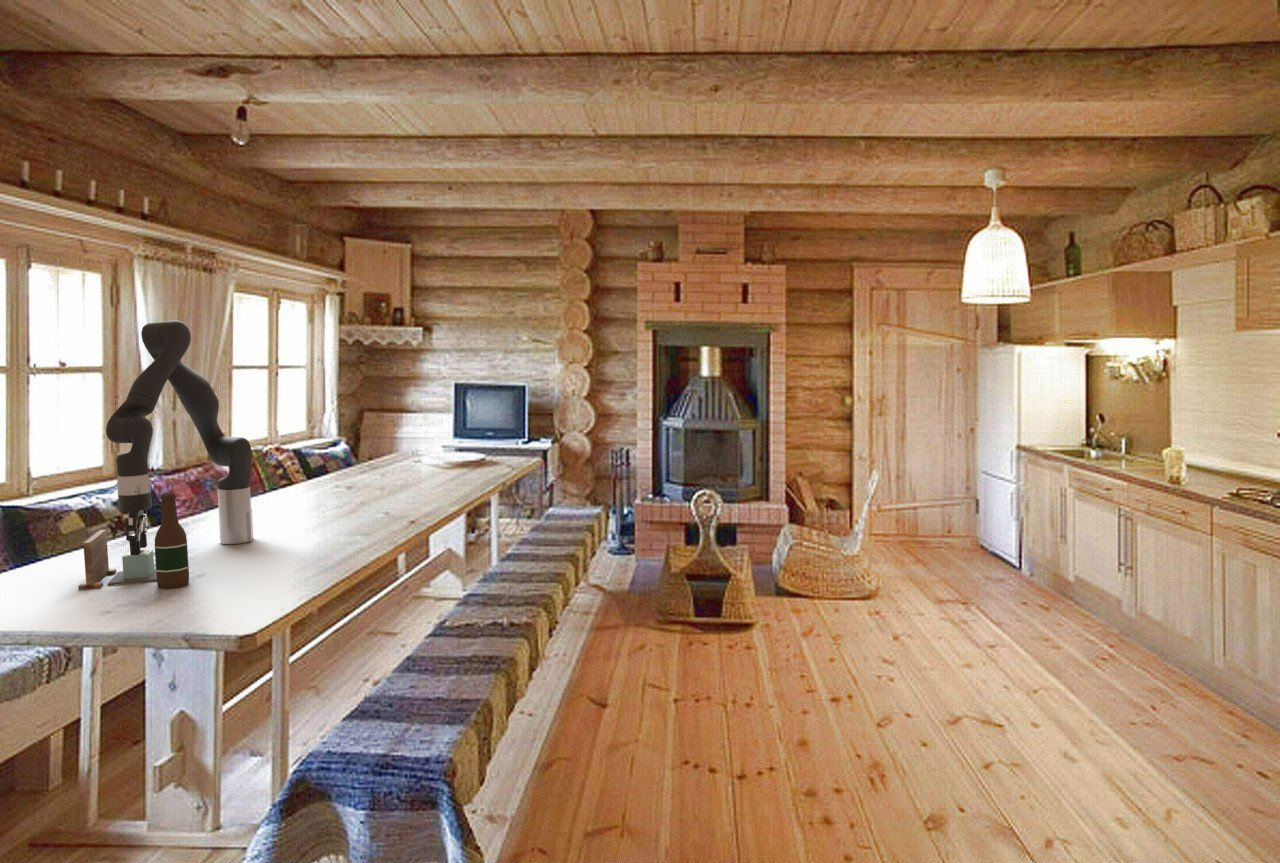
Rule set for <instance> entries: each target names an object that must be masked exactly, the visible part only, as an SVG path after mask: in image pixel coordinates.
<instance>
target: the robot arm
mask: <svg viewBox="0 0 1280 863" xmlns="http://www.w3.org/2000/svg"><path fill="white" fill-rule="evenodd" d="M140 334H141V340H142V344H143V345H144V348H145V349H146V351H147V352H148V354H149V355H150V356H151V358H152V359H153V361H152V362H151V363H150V364H149V365H148V366H147V367H146V368H145V369H144V370H142V372H141V373H140V374H138V376H137V377H136V378H135V380H134V381H133V383H132V385H131V387H130V389H129V392H128V393H127V396H126V399H125V400H124V402H122V403H121V404H120V406H119V407H118V408H117V409H116V410H115V411H114V413H113V414H112V415H111V416H110V417H109V419H108V421H107V423H106V427H105V434H106V438H107V439H108V440H109V441H110V442H112V443H115V444H132V445H131V448H130V450H129V451H125V452H121V453H119V454H118V455H117V456H116V458H115V459H116V460H115V461H116V463H115V464H116V471H117V472H116V473H117V480H116V481H117V482H116V484H117V485H116V487H117V499H118V500H117V502H118V509H119V511H121V512H127V513H128V517H125V519H124V522H125V535H126V536H125V540H126V542H129V543H128V544H129V551H130V554H131V555H132V556H134V555H139V554H140V553H141V552H140V550H141V549H144V548H147V547H148V541H147V533H148V530H149V521H148V520H149V519H148V510H149V509H151V508H152V506H153V501H152V489H151V480H150V476H149V466H148V465H149V464H148V456H149V453H150V447H151V442H152V439H153V433H154V428H153V425H152V423H151V421H150V420H149V418H148V417H147V418H146V416H149V415H151V414H152V413H153V412H154V410H155V409H156V405H157V403H158V401H159V399H160V397H161V393H162V391H163V390H164V387H165V385H166V383H167V382H169V384H170V385H171V387H172V388H173V390H174V392H175V393H176V395H177V397H178V399H179V401H180V403H181V404H182V405H183V407H184V409H185V411H186V413H187V414H188V415H189V418H190V419H191V420H192V423H193V424H194V426H195V428H196V430H197V432H198V434H199V436H200V438H201V440H202V442H203V445H204V447H205V450H206V452H207V454H208V456H209V458H210V460H211V461H212V462H213V463H214V464H215V465H217V466H219V467H220V466H221V467H229V470H228V474H227V475H226V476H224V477H221V478H218V479H217V484H216V485H217V488H216V489H217V501H218V502H217V504H218V523H219V539H220V540H219V541H220V544H222V545H223V544H224V545H238V544H240V545H241V544H244V543H251V542H253V540H254V526H253V524H254V523H253V509H252V502H251V501H252V500H251V479H252V473H253V472H252V470H253V456H252V455H253V453H252V446H251V444H250V442H249V440H248V439H247V438H245V437H242V436H241V437H239V436H237V437H236V436H226V435H225V434H224V433H223V431H222V429H221V427H220V425H219V423H218V415H219V409H220V406H219V405H220V404H219V398H218V396H217V395H216V392H215V391H214V389H213V388H212V385H211V384H210V382H209V381H208V380H207V379H206V378H205V377H204V376H202V374H199V372H196V370H194V369H192V368H191V367H189V366H188V365H187V364H185V363H184V362H183V361H182V358H183V357H184V355H185V354H186V352H187V351H188V349H189V347H190V345H191V340H192V335H191V331H190V328H189V327H188V325H187V324H186V323H185V322H183V321H181V320H164V321H153V322H148V323H146V324H144V326H143V327H142V328H141V333H140Z"/></svg>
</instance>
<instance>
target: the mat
mask: <svg viewBox="0 0 1280 863" xmlns="http://www.w3.org/2000/svg"><path fill="white" fill-rule="evenodd" d="M150 582H157V577H156V568H154V572H153V573H152V575H151V576H150V577H141V578H129V579H124V576H123V570H122V571H120V570H119V571H118V572H116V573H115V574H114V576H113V577H112V578H111V579H110V580H109V581H108V582H107V586H114V584H118V585H127V584H139V583H141V584H142V583H150Z"/></svg>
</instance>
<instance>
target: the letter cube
mask: <svg viewBox="0 0 1280 863" xmlns="http://www.w3.org/2000/svg"><path fill="white" fill-rule="evenodd" d="M140 552H141V553H140V554H139V555H134V556H132V555H131V554H130V550H129V551H127V552H126V553H124V554H123V555H122V557H121V559H122V571H123V576H124V579H129V578H141V577H150V576H151V575H152V573H153V572H154V569H155V561H154V560H155V559H154V558H155V556H154V549H142V550H141V549H140Z"/></svg>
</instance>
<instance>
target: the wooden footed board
mask: <svg viewBox="0 0 1280 863" xmlns="http://www.w3.org/2000/svg"><path fill="white" fill-rule="evenodd" d="M107 537H108V536H107V529H99V530H98V531H97V532H95V533H94V534H93V535H91V536H90V537H89V538H88V539H86V540H85V541H83V544H82V545H83V556H84V557H83V558H84V571H85V572H84V573H85V583H80V584H79V585H78V586H77V587H78V588H77V589H78V590H79V591H80V590H82V591H83V590H91V589H93V590H94V589H101V587H102V586H103V587H104V581H101V580H102V579H103V578H104V579H105V578H106V577H107V576H108V575H109V576H110V575H116V574H117V568H110V565H109V554H108V552H109V551H108V538H107ZM104 579H103V580H104ZM103 587H102V588H103Z"/></svg>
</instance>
